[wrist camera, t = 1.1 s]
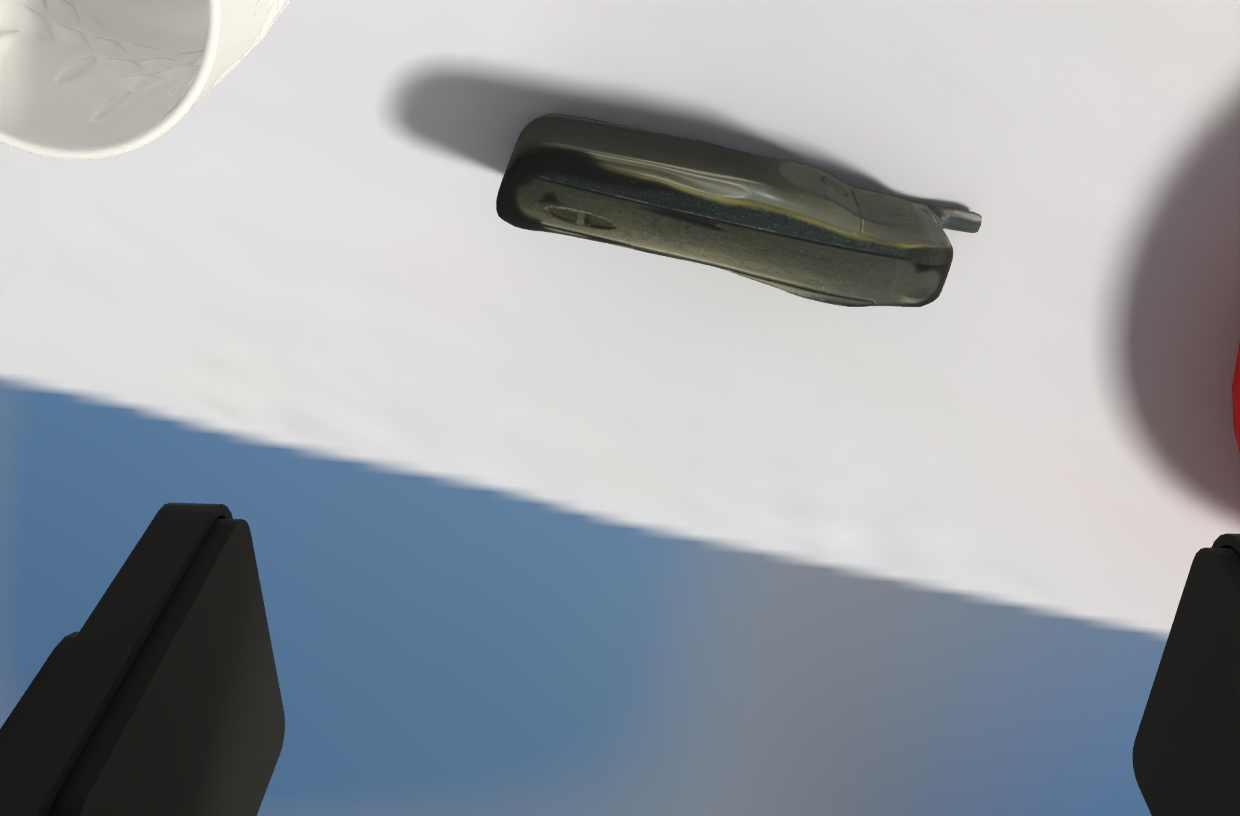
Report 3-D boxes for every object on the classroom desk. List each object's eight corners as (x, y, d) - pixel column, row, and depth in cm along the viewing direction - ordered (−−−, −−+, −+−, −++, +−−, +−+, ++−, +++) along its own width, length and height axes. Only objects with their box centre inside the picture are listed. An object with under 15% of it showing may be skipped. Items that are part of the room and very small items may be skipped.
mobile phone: (487, 242, 33) (990, 342, 34) (501, 141, 32) (1027, 247, 33) (509, 187, 38) (956, 277, 38) (523, 96, 36) (987, 191, 37)
